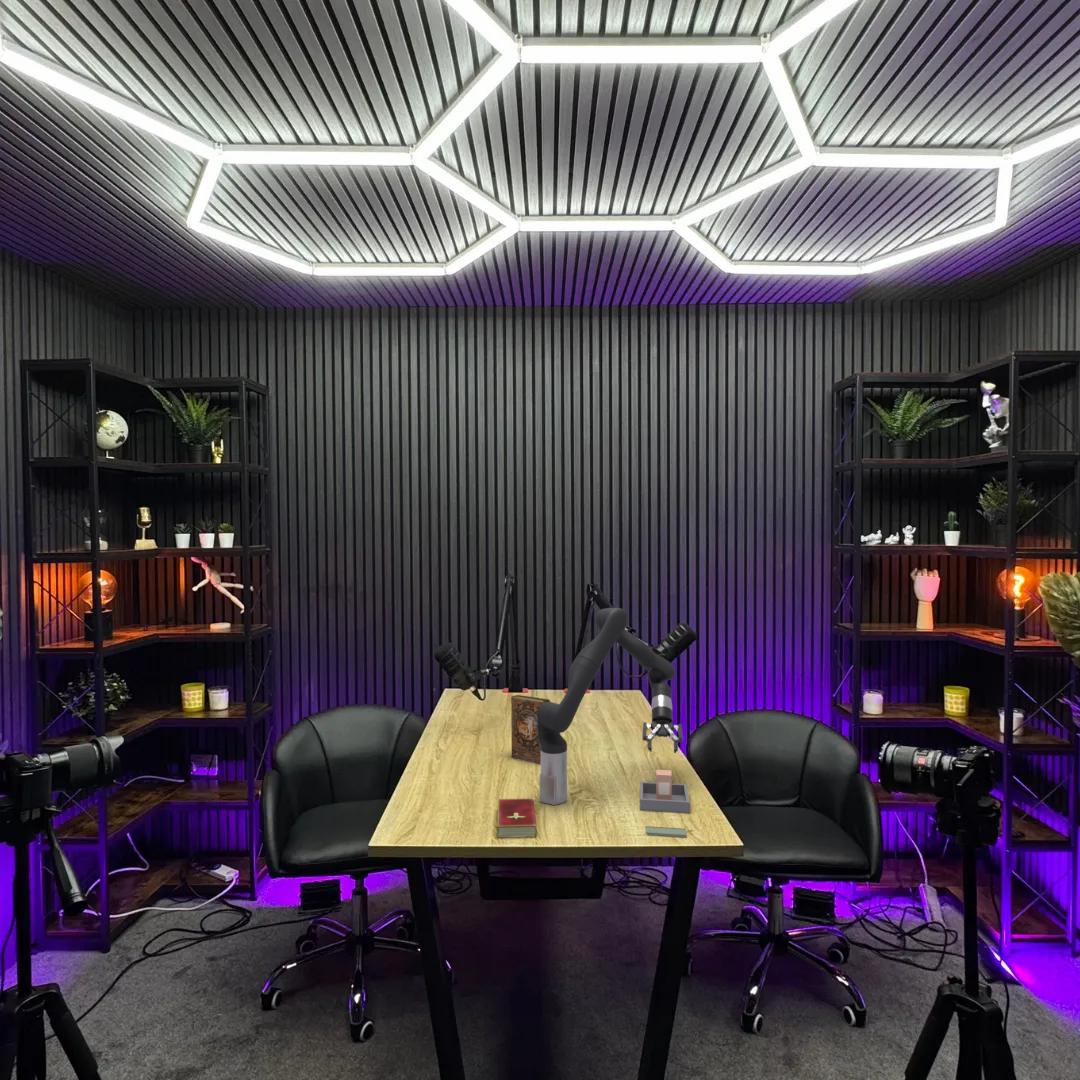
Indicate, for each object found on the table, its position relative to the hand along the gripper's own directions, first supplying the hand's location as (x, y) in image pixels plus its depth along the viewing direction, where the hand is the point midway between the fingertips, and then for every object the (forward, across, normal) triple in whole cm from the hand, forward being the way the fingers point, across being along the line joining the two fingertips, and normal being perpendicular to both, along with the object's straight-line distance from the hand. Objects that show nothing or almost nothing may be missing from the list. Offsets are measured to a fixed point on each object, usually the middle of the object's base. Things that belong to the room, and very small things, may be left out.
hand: (662, 751), depth 237 cm
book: (-10, -53, +31) cm, 62 cm away
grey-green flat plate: (+30, 0, -9) cm, 32 cm away
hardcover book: (+33, -47, -11) cm, 58 cm away
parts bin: (+18, 0, +3) cm, 18 cm away
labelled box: (+17, 0, +3) cm, 17 cm away
